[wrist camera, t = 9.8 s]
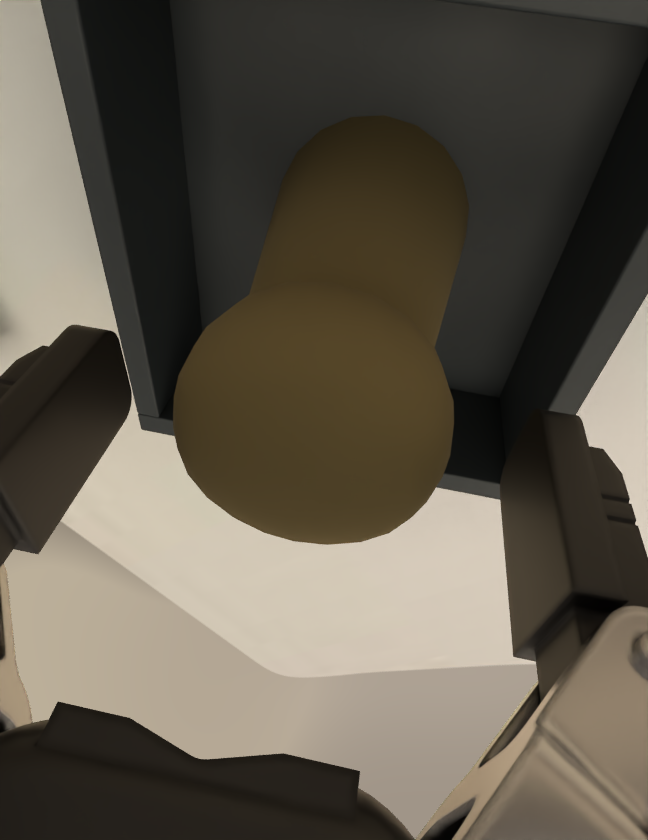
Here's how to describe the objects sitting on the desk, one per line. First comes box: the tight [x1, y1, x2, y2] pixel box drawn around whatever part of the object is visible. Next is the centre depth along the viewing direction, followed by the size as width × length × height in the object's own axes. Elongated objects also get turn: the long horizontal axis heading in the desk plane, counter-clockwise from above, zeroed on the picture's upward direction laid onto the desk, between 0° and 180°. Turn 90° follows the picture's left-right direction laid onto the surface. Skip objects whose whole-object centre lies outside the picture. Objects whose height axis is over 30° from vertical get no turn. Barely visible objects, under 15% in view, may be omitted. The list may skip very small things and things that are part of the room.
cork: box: [173, 115, 469, 544], centre depth 12 cm, size 6×6×11 cm
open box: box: [40, 0, 648, 500], centre depth 15 cm, size 14×14×5 cm
